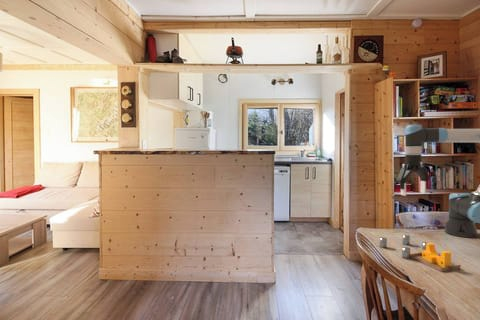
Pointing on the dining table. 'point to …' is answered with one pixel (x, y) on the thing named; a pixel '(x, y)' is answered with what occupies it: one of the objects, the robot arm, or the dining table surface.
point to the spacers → (404, 249)
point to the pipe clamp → (436, 256)
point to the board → (434, 265)
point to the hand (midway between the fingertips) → (413, 194)
